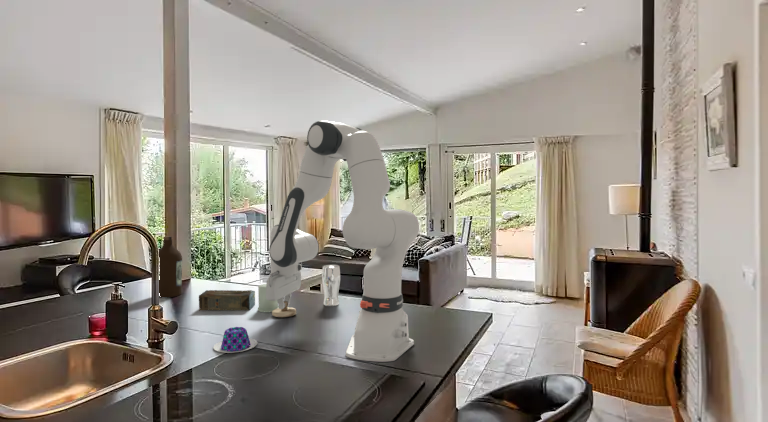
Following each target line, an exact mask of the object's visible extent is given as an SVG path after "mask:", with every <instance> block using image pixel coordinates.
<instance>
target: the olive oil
mask: <svg viewBox="0 0 768 422" xmlns="http://www.w3.org/2000/svg"><path fill="white" fill-rule="evenodd" d="M158 251H159V257H160V280H159V293H160V296H161V297H160V298H162V297H167V298H174V297H179V296H181V295H182V291H183V289H182V287H183V286H182V285H183V283H182V282H183V279H182V277H183V256H182V253H181V252H180V251H179V250H178V249H177V248H176V247H175V246H174V245H173V236H170V235H167V236H166V235H165V236H163V246H162V247H160V249H159V250H158Z"/></svg>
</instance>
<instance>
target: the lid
mask: <svg viewBox="0 0 768 422" xmlns="http://www.w3.org/2000/svg"><path fill="white" fill-rule="evenodd" d="M283 301H284V300H283ZM284 303H285V308H284V309H279V308H277V309H274V310H273V311H272V312H271V314H272V315H271V316H273V317H276V318H288V317H293V316H295V315H297V309H296V308H295V307H290V306H287V302H286V301H284Z"/></svg>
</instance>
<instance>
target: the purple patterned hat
mask: <svg viewBox="0 0 768 422" xmlns="http://www.w3.org/2000/svg"><path fill="white" fill-rule="evenodd" d="M248 334H249V333H248V330H247V329H246V328H245V327H243V326H234V327H230V328H227V329H225V330H224V332H223V337H222V341H219V342H217V343H214V345H213V347H212V348H213V350H214V351H216V352H218V353H225V354H226V353H227V354H229V353H230V354H232V353H239V352H240V353H241V352H244V351H249V350H250V349H253V348H255V347H256V346H257V345H258V341H257V340H256V339H254V338H250V337H249V335H248Z"/></svg>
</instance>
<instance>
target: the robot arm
mask: <svg viewBox="0 0 768 422" xmlns="http://www.w3.org/2000/svg"><path fill="white" fill-rule="evenodd" d="M306 138H307V139H306V141H307V145H306V147H305V150H304V152H303V156H302V159H301V162H300V166H299V174H298V177H297V180H296V182H295V184H294V186H293V188H292V190H291V191H290V192H289V193H288V195H287V198H286V200H285V203H284V206H283V209H282V212H281V216H280V220H279V222H278V223H277V224H276V225H274V226H272V228H271V232H270V239H269V242H270V243H269V244H270V245H269V249H268V253H269V257H270V274H269V277H268V279H266V283H265V284H266V299H267V300H269V301H276V300H277V302H278V306H279V309H284V308H285V303H284V301H286V302H287V307H290V305H291V298H292V293H294V292H295V291H298V290H299V289H300V288H301V285H302V284H301V283H302V272H301V271H302V269H303V266H302V264H301V263H303V262H307V261H311V260H313V259H315V258H316V257H317V255H318V253H319V249H320V244H319V242H318V239H317V237H315V235H314V234H312V233H308V232H306V231H304V230H303V231H302V230H301V229H299V228H298V227H299V224H300V221H301V218H302V215H303V214H304V212H305V211H306V209H308V208H310V206H311V205H313V204H314V203H315V204H316V202H319V201H321V200H322V199H324V198H325V197H326V196H327V195H328V194H329V191H330V189H331V186H332V180H333V175H334V170H335V165H336V163H337V162H338V161H340V160H342V161H344V162H346V163H347V169H348V172H349V177H350V181H351V186H352V191H353V202H352V203H353V204H352V208H351V211H350V212H349V214H348V215H347V216H346V217H345V220H344V221H343V224H342V235H343V236H342V237H343V239H344V241H345V243H346V244H347V245H348V246H349V247H350V248H354V249H360V250H372V249H375V251H374V254H373V256H372V257H371V260H369V261H368V262H367V263H366V265H365V266H364V268H363V294H362V295H361V296H362V297H361V301H360V303H359V306H360V308H361V309H360V310H359V312H358V317H357V320H356V324H355V328H354V334H352V335H351V338H350V341H349V344H348V346H347V348H346V350H345V356H346V358H350V359H353V360H359V361H365V362H383V363H384V362H386V363H387V362H394V361H396V360H397V359H398V358H400V357H401V356H402V355H403V354H404V353H405V352H406V351H408V350H409V349H410V348H411V347H413V346H414V345H415V340H414V339H413V338H410V337H409V336H410V335H409V318H408V317H409V316H408V314H407V312H406V311H404V309H403V306H404V298H403V293H402V275H403V274H402V272H403V265H404V261H405V257H406V256H407V252H408V249H409V247H410V245H411V244H412V243H413V242H414V241H415V239H416V238H417V237H418V235H419V233H420V223H419V220H418V217H417V215H415V213H413V212H411V211H408V210H406V209H400V208H399V209H398V208H396V209H395V208H394V209H392V208H391V209H384V205H383V198H384V197H385V196H386V195H387V193H388V192H389V191H390V188H391V182H390V178H389V175H388V170H387V167H386V163H385V159H384V156H383V153H382V150H381V148H380V145H379V143H378V141H377V138H376V137H375V135H374V134H373V133H371V132H369V131H366V130H363V129H362V128H360V127H355V126H352V125H349V124H345V123H342V122H335V121H329V120H318V121H315V122H313V123H312V124H311V125H310V127H309V129H308V131H307V137H306Z"/></svg>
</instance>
